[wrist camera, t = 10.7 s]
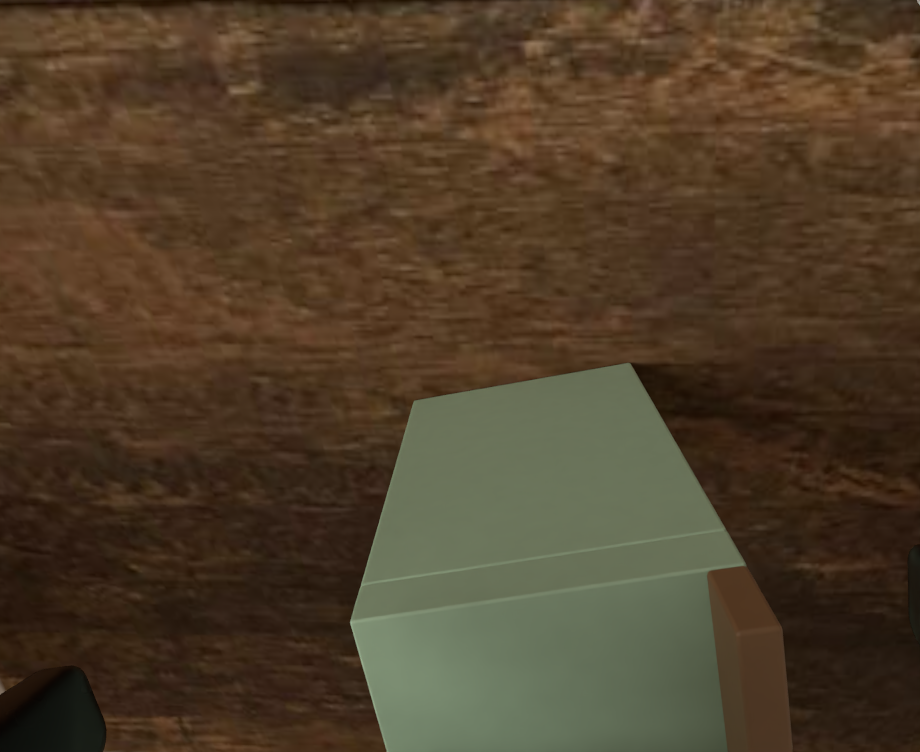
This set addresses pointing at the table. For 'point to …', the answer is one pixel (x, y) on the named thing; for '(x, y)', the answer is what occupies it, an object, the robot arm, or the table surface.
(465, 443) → the sage green block
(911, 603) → the robot arm
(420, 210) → the table surface
